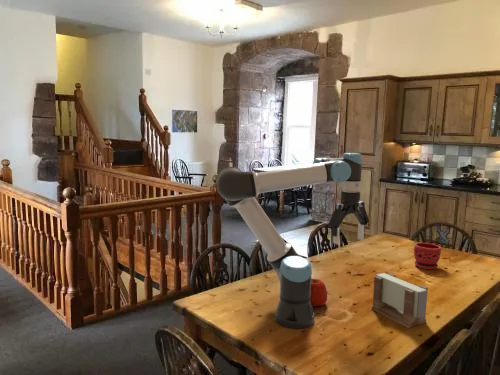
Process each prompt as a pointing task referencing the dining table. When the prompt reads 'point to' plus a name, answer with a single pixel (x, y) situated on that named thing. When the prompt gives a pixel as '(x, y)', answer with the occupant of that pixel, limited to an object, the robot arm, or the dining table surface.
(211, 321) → the dining table surface
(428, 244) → the plant pot
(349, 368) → the dining table surface
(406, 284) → the cream rectangular block
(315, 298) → the apple
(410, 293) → the u-shaped post stand
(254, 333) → the dining table surface
